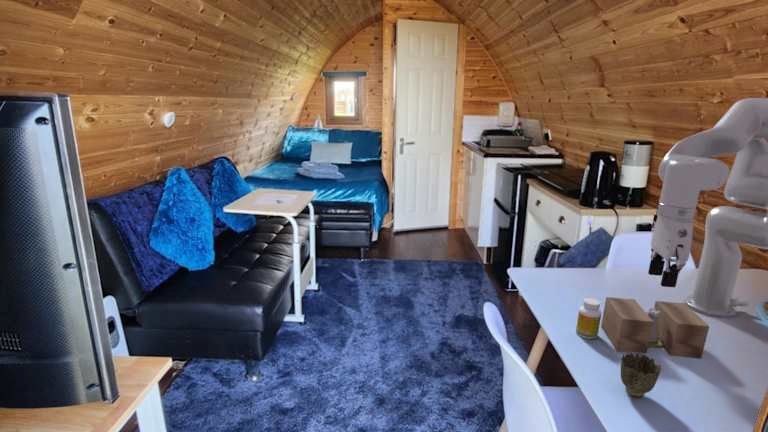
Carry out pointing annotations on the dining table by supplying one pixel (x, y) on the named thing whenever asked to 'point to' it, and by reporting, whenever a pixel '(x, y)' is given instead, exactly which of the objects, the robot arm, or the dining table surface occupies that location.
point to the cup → (639, 374)
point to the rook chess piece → (654, 324)
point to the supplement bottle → (589, 319)
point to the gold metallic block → (656, 345)
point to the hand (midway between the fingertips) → (661, 279)
